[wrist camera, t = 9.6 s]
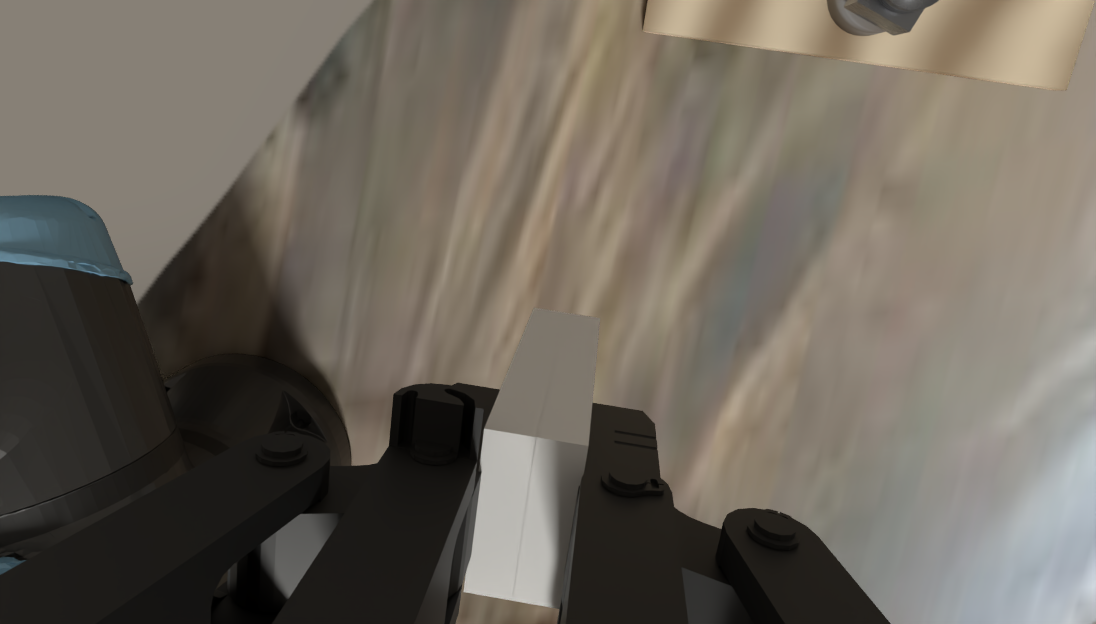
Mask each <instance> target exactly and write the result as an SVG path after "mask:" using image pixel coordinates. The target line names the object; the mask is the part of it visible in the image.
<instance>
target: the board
mask: <svg viewBox="0 0 1096 624" xmlns="http://www.w3.org/2000/svg"><path fill="white" fill-rule="evenodd" d="M846 2H847V0H648V1H647V7H646V13H645V19H644V25H643V32H648V33H655V34H662V35H669V36H676V37H683V38H690V39H697V40H704V41H711V42H718V43H725V44H732V45H739V46H746V47H753V48H760V49H767V50H774V51H781V52H788V53H795V54H802V55H809V56H817V57H824V58H831V59H838V60H845V61H852V62H859V63H866V64H873V65H880V66H887V67H894V68H901V69H908V70H915V71H922V72H929V73H936V74H943V75H950V76H957V77H964V78H971V79H978V80H985V81H992V82H999V83H1006V84H1013V85H1020V86H1028V87H1035V88H1042V89H1049V90H1067V87H1068V84H1069V81H1070V78H1071V75H1072V71H1073V68H1074V65H1075V62H1076V59H1077V56H1078V53H1079V49H1080V46H1081V43H1082V40H1083V37H1084V34H1085V30H1086V27H1087V24H1088V21H1089V18H1090V15H1091V12H1092V8H1093V5H1094V2H1095V0H939V1H938V2H936V3H935V4H933V5H931V6H929V7H927V8H925V9H924V10H923V12H922V14H921V15H920V17H919V18H918V20H917V22H916V23H915V25H914V26H913V28H912V29H911V31H910V32H908V33H903V34H899V35H894V36H893V35H891V34H889V33H887V32H886V31H884V30H882V29H880V28H879V27H877V26H875V25H873V24H872V23H870V22H868V21H866V20H865V19H863V18H861V17H859V16H857V15H856V14H854V13H852V12H850V11H849V10H847V9H845V8H843V7H844V5H845V3H846Z"/></svg>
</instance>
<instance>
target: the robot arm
mask: <svg viewBox="0 0 1096 624" xmlns="http://www.w3.org/2000/svg"><path fill="white" fill-rule="evenodd" d="M132 284H133V282H132V279H131V276H130V275H129V274H128V273H127V272H126V271H124V270H123V268H122V266H121V263H120V261H119V258H118V256H117V253H116V251H115V248H114V246H113V244H112V241H111V239H110V236H109V234H108V231H107V229H106V227H105V224H104V222H103V220H102V219H101V217H100V216H99V215H98V214H97V213H96V212H95V211H94V210H93V209H92V208H90V207H89V206H87V205H85V204H84V203H82V202H80V201H77V200H74V199H71V198H66V197H61V196H47V195H22V196H0V624H455V623H456V619H457V616H458V613H459V605H460V597H461V589H462V583H463V580H464V576H465V573H466V578H465V585H464V592H467V593H473V594H478V595H484V596H490V597H495V598H501V599H507V600H512V601H518V602H523V603H529V604H535V605H540V606H546V607H552V608H557V609H559V615H558V621H557V624H890V622H889V621H888V620H887V619H886V618H885V616H884V615H883V614H882V613H881V612H880V610H879V609H878V608H877V607H876V606H875V604H874V603H873V602H872V601H871V600H870V598H869V597H868V596H867V595H866V594H865V592H864V591H863V590H862V589H861V588H860V586H859V585H858V584H857V583H856V582H855V580H854V579H853V578H852V577H851V575H850V574H849V573H848V572H847V571H846V569H845V568H844V567H843V566H842V565H841V563H840V562H839V561H838V560H837V559H836V557H835V556H834V555H833V554H832V553H831V551H830V550H829V549H828V548H827V547H826V545H825V544H824V543H823V542H822V541H821V539H820V538H819V537H818V536H817V535H816V534H815V533H814V532H812V531H811V530H810V529H809V528H808V527H807V526H805V525H804V524H802V523H800V522H798V521H796V520H794V519H793V518H792V517H790V516H789V515H786V514H784V513H781V512H780V513H778V511H774V510H770V509H765V510H763V509H756V508H747V509H737V510H735V511H733V512H731V513H729V514H727V516H726V518H725V520H724V522H723V526H722V529H719V528H716V527H714V526H711V525H708V524H705V523H702V522H700V521H698V520H695V519H693V518H690V517H689V516H687V515H685V514H683V513H682V512H680V511H678V510H677V509H676V508H675V507H674V504H673V496H672V492H671V490H670V488H669V486H668V484H667V483H666V482H665V481H664V480H662V479H661V478H660V469H659V459H658V450H657V440H656V431H655V424H654V423H653V422H652V421H651V420H650V418H649V417H648V416H647V415H646V414H645V413H644V412H643V411H639V410H633V409H627V408H621V407H615V406H609V405H603V404H597V403H592V402H593V391H594V380H595V369H596V358H597V347H598V336H599V325H600V318H596V317H590V316H583V315H577V314H571V313H564V312H558V311H552V310H546V309H539V308H534V309H533V311H532V314H531V316H530V318H529V321H528V323H527V326H526V328H525V331H524V333H523V335H522V338H521V340H520V343H519V345H518V348H517V350H516V352H515V355H514V357H513V360H512V362H511V365H510V367H509V369H508V372H507V374H506V377H505V379H504V382H503V384H502V386H501V389H500V390H499V389H493V388H486V387H480V386H474V385H468V384H462V383H456V384H454V385H452V386H451V385H443V384H432V383H430V384H416V385H412V386H408V387H404V388H401V389H400V390H399V391H397V392H396V393H394V395H393V407H392V418H391V429H390V441H389V447H388V448H387V450H386V451H385V453H384V454H383V456H382V457H381V459H380V460H379V462H378V463H376V464H371V465H361V466H351V455H350V448H349V443H348V439H347V436H346V433H345V430H344V427H343V425H342V423H341V421H340V419H339V417H338V415H337V413H336V412H335V410H334V409H333V407H332V406H331V404H330V403H329V402H328V400H327V399H326V398H325V397H324V396H323V394H322V393H321V392H320V391H319V390H318V389H317V388H316V387H315V386H314V385H312V384H311V383H310V382H309V381H308V380H306V379H305V378H304V377H302V376H301V375H299V374H298V373H296V372H295V371H293V370H291V369H290V368H288V367H286V366H284V365H282V364H279V363H277V362H274V361H272V360H269V359H265V358H262V357H257V356H252V355H245V354H225V355H217V356H212V357H208V358H205V359H202V360H199V361H197V362H195V363H192V364H191V365H189V366H187V367H185V368H184V369H182V370H180V371H179V372H177V373H176V374H174V375H172V376H171V377H169V378H168V379H166V380H165V381H164V382H163V380H162V377H161V374H160V371H159V368H158V365H157V362H156V359H155V357H154V354H153V351H152V348H151V345H150V342H149V339H148V336H147V333H146V330H145V327H144V324H143V322H142V319H141V316H140V313H139V310H138V307H137V304H136V301H135V298H134V295H133V293H132V290H131V287H130V285H132Z"/></svg>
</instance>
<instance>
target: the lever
mask: <svg viewBox="0 0 1096 624" xmlns="http://www.w3.org/2000/svg"><path fill="white" fill-rule="evenodd" d="M938 1H939V0H847V2H846V3H845V5H844V7H843V8H845V9H847V10H849V11H850V12H852V13H854V14H856V15H857V16H859V17H861V18H863V19H865V20H866V21H868V22H870V23H872V24H873V25H875V26H877V27H879V28H880V29H882V30H884V31H886V32H887V33H889V34H891V35H893V36H894V35H899V34H903V33H908V32H910V31H911V29H912V28H913V26H914V25H915V23H916V22H917V20H918V18H919V17H920V15H921V14H922V12H923V10H924V9H925V8H927V7H929V6H931V5H933V4H935V3H936V2H938Z"/></svg>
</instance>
